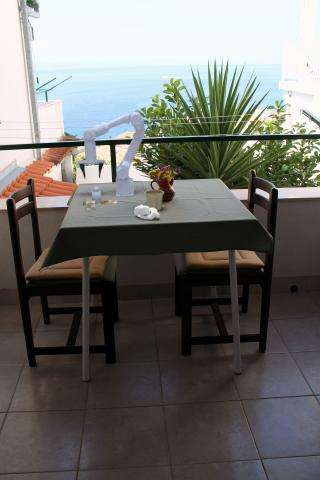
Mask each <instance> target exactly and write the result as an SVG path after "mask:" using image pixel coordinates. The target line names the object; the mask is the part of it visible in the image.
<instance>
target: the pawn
mask: <svg viewBox="0 0 320 480" xmlns="http://www.w3.org/2000/svg"><path fill="white" fill-rule="evenodd" d="M101 192H102V191H101V190H100V188H99V187H98V186H93V188H92V191H91V201H95V205H101V204H100V203H101V201H102V193H101Z"/></svg>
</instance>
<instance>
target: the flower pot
mask: <svg viewBox="0 0 320 480" xmlns="http://www.w3.org/2000/svg"><path fill="white" fill-rule="evenodd" d="M144 194H145V195H144V196H145V198H146V203H147V205H146V206H148V207H149V208H155V209H157V212H159V211H161V209H162V202H163V196H164V194H165V191H163V190H160V189H149V190H145V191H144Z"/></svg>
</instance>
